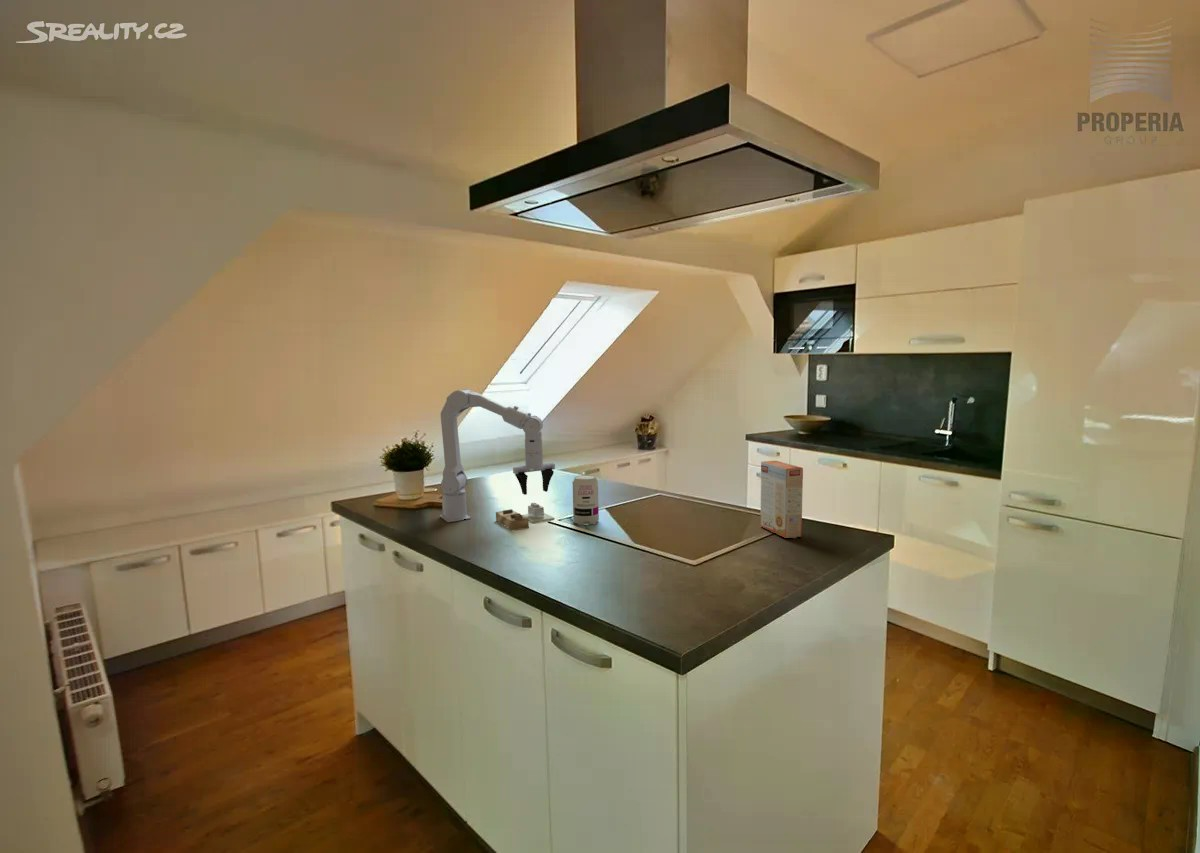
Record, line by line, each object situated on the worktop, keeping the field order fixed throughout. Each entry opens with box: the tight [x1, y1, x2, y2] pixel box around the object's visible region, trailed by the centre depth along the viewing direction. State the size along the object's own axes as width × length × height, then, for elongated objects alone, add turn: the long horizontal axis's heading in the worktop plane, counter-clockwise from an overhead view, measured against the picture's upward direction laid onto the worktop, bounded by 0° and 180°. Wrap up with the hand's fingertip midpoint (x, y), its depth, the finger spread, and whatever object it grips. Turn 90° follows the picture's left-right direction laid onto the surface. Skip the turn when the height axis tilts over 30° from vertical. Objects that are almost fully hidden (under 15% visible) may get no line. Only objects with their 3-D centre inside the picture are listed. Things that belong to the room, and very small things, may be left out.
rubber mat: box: [522, 512, 555, 524], centre depth 195 cm, size 10×8×1 cm
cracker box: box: [759, 460, 804, 538], centre depth 172 cm, size 14×6×21 cm, turn 14°
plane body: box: [495, 508, 530, 531], centre depth 188 cm, size 14×6×4 cm, turn 31°
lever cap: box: [527, 502, 545, 519], centre depth 195 cm, size 5×4×4 cm
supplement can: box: [572, 474, 600, 525], centre depth 188 cm, size 8×8×15 cm
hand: (535, 492), depth 194 cm, fingers open, 7 cm apart
